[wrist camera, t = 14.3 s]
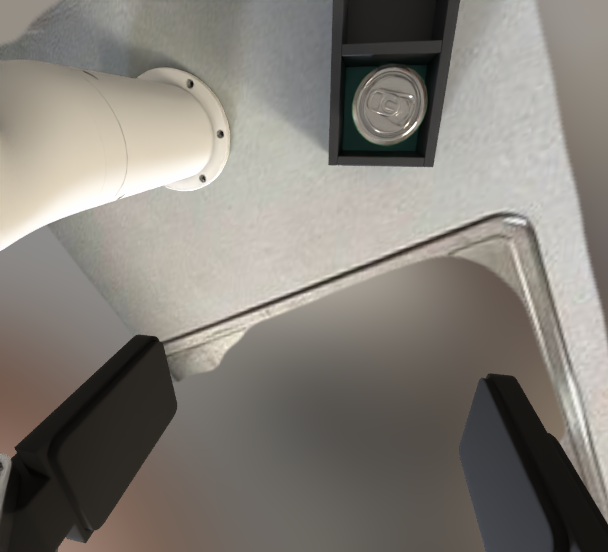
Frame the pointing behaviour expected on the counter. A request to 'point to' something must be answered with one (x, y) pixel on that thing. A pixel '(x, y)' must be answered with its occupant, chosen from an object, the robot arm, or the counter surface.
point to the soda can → (389, 104)
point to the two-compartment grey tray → (381, 50)
